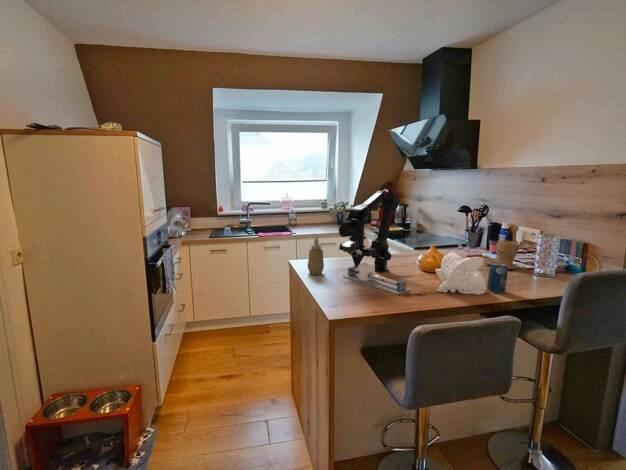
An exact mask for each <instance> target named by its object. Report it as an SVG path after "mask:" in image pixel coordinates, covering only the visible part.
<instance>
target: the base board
mask: <svg viewBox="0 0 626 470" xmlns="http://www.w3.org/2000/svg"><path fill="white" fill-rule="evenodd" d="M342 277H343V278H345V279H348V280H351V281H353V282H357V283H359V284H363V285H367V286H368V287H369V286H370V287H372V288H375V289H379V290H382V291H384V292H387V293H391V294H394V295H396V296H399V295H402V294H404V293H408V292H410V291H411V288H408V287H406V290H404V291H401V292H398V291H397V286H396V285H392V284H389V283H385V282H382V281H379V280H376V279H371V280H368V281H364V280H361V279H359V274H357V275H353V276H348V274H346V275H342Z"/></svg>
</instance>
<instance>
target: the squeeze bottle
mask: <svg viewBox="0 0 626 470" xmlns="http://www.w3.org/2000/svg"><path fill="white" fill-rule="evenodd" d="M308 251H309V252H308V260H307V270H308V272H309V274H310V275H313V276H320V275H322V273H323V271H324V268H325V263H324V250H323V249H322V244H320V243H319V239H318V237H317V236H315V237H314V241H313V244H311V248H309V250H308Z"/></svg>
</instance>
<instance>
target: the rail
mask: <svg viewBox="0 0 626 470" xmlns="http://www.w3.org/2000/svg"><path fill="white" fill-rule="evenodd" d="M357 274H359V269H358V267H355V265H353V266H349V267H347V275H348V276H353V275H357ZM368 277H369V278H373V279H376V280H379V281H382V282H385V283H389V284H392V285H396V286H397V291H398V292H401V291H404V290H406V288H407V280H405V279H402V280H399V281H398V280H394V279H391V278H388V277H385V276H381V275H377V274H371V273H368Z"/></svg>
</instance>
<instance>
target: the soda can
mask: <svg viewBox="0 0 626 470" xmlns="http://www.w3.org/2000/svg"><path fill="white" fill-rule="evenodd" d="M508 271H509V269H508V268H507V265H506V264H504V263H498V262H493V263H492V264H491V265H489V271H488V277H487V278H488V279H487V285H486V288H487V289H488V291H489V292H490V291H491V293H493V292H494V293H493V294H503V293H504V292H506V289H507V282H508V281H507V280H508Z"/></svg>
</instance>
